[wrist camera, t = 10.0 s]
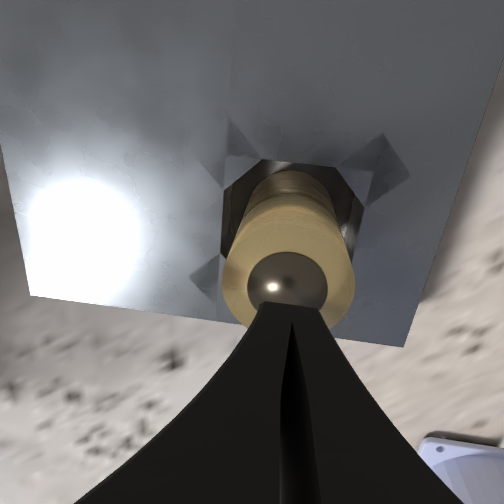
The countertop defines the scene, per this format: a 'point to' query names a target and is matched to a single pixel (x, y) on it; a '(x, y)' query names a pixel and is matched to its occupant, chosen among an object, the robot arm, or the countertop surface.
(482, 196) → the countertop surface
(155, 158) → the plate
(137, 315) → the countertop surface
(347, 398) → the robot arm
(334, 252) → the slip bushing
